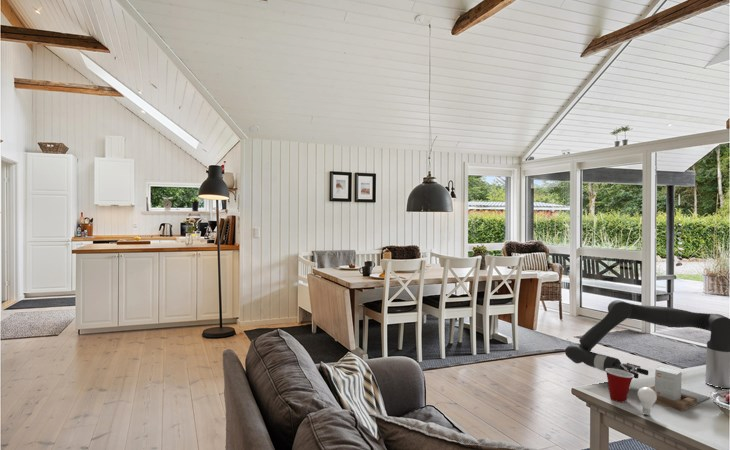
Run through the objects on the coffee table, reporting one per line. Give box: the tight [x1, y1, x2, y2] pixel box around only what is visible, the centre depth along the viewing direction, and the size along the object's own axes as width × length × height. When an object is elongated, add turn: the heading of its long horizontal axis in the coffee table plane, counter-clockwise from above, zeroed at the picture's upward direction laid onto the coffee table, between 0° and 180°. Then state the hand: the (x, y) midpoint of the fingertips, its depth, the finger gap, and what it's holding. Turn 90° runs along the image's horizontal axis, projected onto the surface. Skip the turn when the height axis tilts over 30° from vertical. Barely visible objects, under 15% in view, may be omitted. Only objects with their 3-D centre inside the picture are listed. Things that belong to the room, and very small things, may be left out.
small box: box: [654, 366, 683, 401], centre depth 188 cm, size 8×6×13 cm
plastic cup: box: [604, 368, 634, 403], centre depth 188 cm, size 11×11×12 cm
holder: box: [649, 385, 697, 412], centre depth 188 cm, size 14×16×2 cm
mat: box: [681, 388, 711, 405], centre depth 194 cm, size 12×12×1 cm
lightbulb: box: [637, 386, 657, 416], centre depth 173 cm, size 6×6×11 cm
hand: (643, 374), depth 197 cm, fingers open, 8 cm apart
